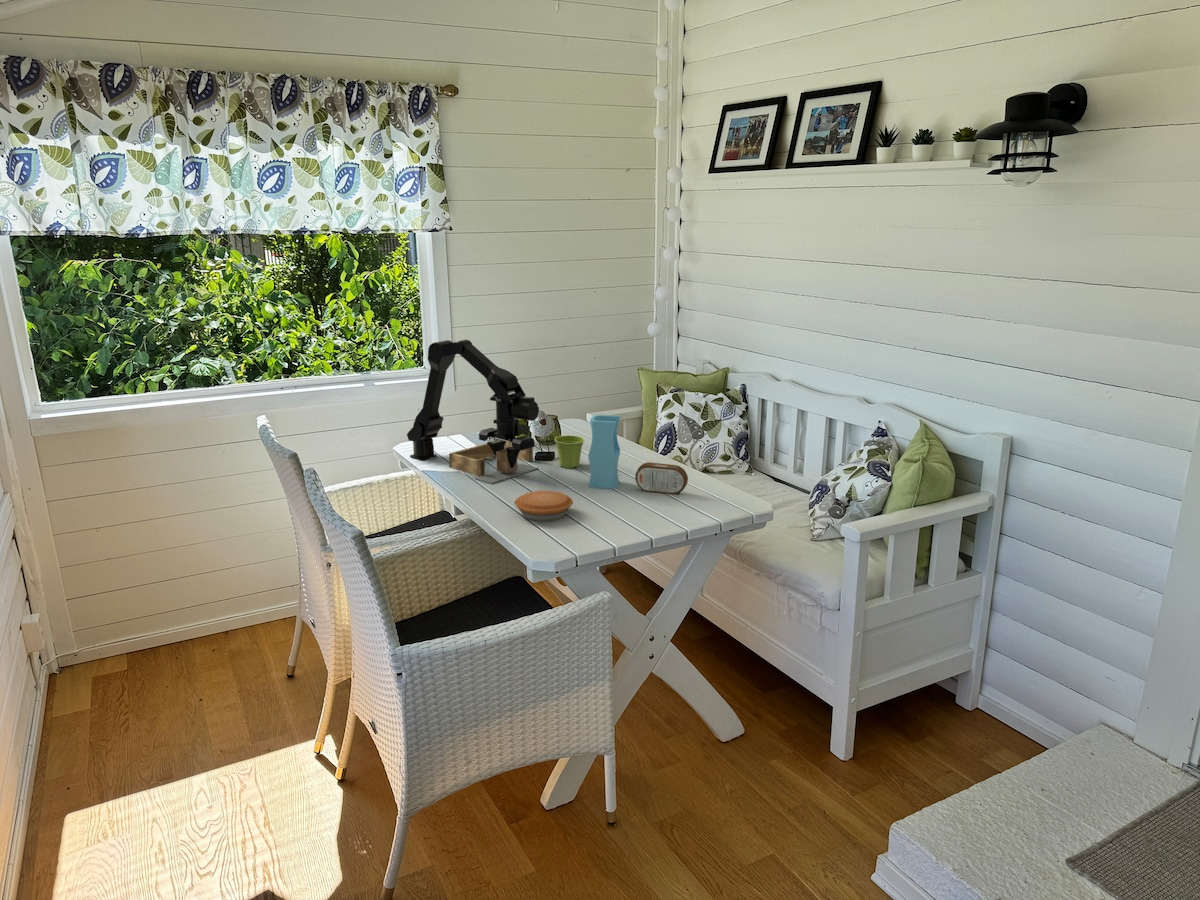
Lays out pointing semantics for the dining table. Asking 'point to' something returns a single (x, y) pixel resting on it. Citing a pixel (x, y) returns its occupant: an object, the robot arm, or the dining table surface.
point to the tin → (661, 478)
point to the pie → (543, 505)
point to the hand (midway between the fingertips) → (506, 466)
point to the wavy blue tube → (604, 452)
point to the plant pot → (569, 450)
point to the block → (504, 462)
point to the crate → (480, 458)
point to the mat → (506, 474)
